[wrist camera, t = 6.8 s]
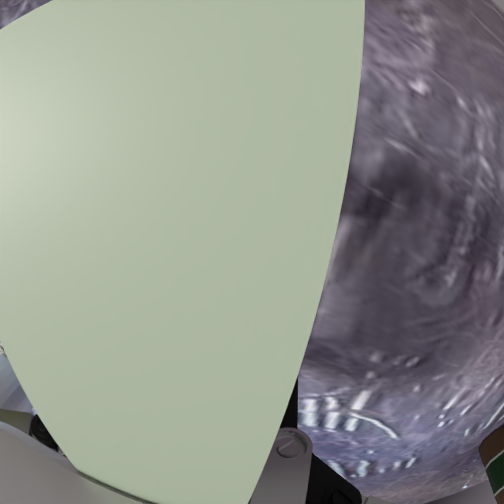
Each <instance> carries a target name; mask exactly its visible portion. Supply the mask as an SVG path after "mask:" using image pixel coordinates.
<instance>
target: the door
mask: <svg viewBox="0 0 504 504" xmlns="http://www.w3.org/2000/svg"><path fill="white" fill-rule="evenodd" d="M364 9H365V0H53V1H51V2H49V3H46V4H44V5H42V6H40V7H38V8H37V9H35V10H33V11H31V12H29V13H27V14H25V15H24V16H22V17H20V18H18V19H17V20H15V21H13V22H12V23H10V24H8V25H7V26H5V27H4V28H2V29H1V30H0V341H1V343H2V346H3V348H4V350H5V353H6V355H7V357H8V360H9V362H10V364H11V366H12V368H13V370H14V372H15V374H16V376H17V378H18V380H19V382H20V384H21V386H22V388H23V390H24V392H25V394H26V395H27V397H28V399H29V401H30V402H31V404H32V406H33V408H34V409H35V411H36V413H37V414H38V416H39V417H40V419H41V421H42V422H43V424H44V425H45V427H46V428H47V430H48V431H49V433H50V434H51V436H52V437H53V439H54V440H55V441H56V443H57V444H58V446H59V447H60V448H61V450H62V451H63V452H64V454H65V455H66V456H67V458H68V459H69V460H70V461H71V463H72V464H73V465H74V466H75V468H76V469H77V470H78V471H79V472H81V473H83V474H85V475H87V476H89V477H91V478H93V479H95V480H97V481H99V482H101V483H103V484H105V485H108V486H110V487H112V488H114V489H117V490H119V491H122V492H124V493H127V494H129V495H132V496H134V497H137V498H140V499H142V500H145V501H148V502H151V503H154V504H248V502H249V500H250V498H251V496H252V493H253V491H254V489H255V487H256V484H257V482H258V480H259V477H260V475H261V473H262V470H263V468H264V466H265V463H266V461H267V458H268V456H269V453H270V451H271V448H272V446H273V443H274V441H275V438H276V435H277V433H278V430H279V427H280V425H281V422H282V419H283V416H284V414H285V411H286V408H287V405H288V402H289V400H290V397H291V394H292V391H293V388H294V385H295V382H296V379H297V376H298V373H299V370H300V366H301V363H302V360H303V357H304V354H305V350H306V347H307V344H308V340H309V337H310V334H311V330H312V327H313V323H314V320H315V316H316V312H317V309H318V305H319V301H320V298H321V294H322V290H323V286H324V282H325V278H326V274H327V270H328V266H329V262H330V257H331V253H332V249H333V244H334V240H335V235H336V231H337V226H338V221H339V216H340V211H341V206H342V201H343V196H344V190H345V185H346V179H347V174H348V168H349V162H350V155H351V149H352V142H353V135H354V128H355V121H356V113H357V105H358V96H359V86H360V76H361V64H362V51H363V35H364Z"/></svg>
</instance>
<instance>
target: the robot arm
mask: <svg viewBox="0 0 504 504" xmlns="http://www.w3.org/2000/svg"><path fill="white" fill-rule="evenodd" d="M32 408H33V406H32V404H31V402H30V401H29V399H28V397H27V395H26V394H25V392H24V390H23V388H22V386H21V384H20V382H19V380H18V378H17V376H16V374H15V372H14V370H13V368H12V366H11V364H10V362H9V360H8V357H7V355H6V353H5V350H4V348H3V346H2V343H1V341H0V504H154V503H151V502H148V501H145V500H142V499H140V498H137V497H134V496H132V495H129V494H127V493H124V492H122V491H119V490H117V489H114V488H112V487H110V486H108V485H105V484H103V483H101V482H99V481H97V480H95V479H93V478H91V477H89V476H87V475H85V474H83V473H81V472H79V471H78V470H77V469H76V468H75V466H74V465H73V464H72V463H71V461H70V460H69V459H68V458H67V456H66V455H65V454H64V452H63V451H62V450H61V448H60V447H59V446H58V444H57V443H56V441H55V440H54V439H53V437H52V436H51V434H50V433H49V431H48V430H47V428H46V427H45V425H44V424H43V422H42V421H41V419H40V417H39V416H38V414H36V415H34V413H33V411H32V410H31V409H32ZM297 416H298V376H297V379H296V382H295V385H294V388H293V391H292V394H291V397H290V400H289V402H288V405H287V408H286V411H285V414H284V416H283V419H282V422H281V425H280V427H279V430H278V433H277V435H276V438H275V441H274V443H273V446H272V448H271V451H270V453H269V456H268V458H267V461H266V463H265V466H264V468H263V470H262V473H261V475H260V477H259V480H258V482H257V484H256V487H255V489H254V491H253V493H252V496H251V498H250V500H249V502H248V504H395V503H392V502H388V501H385V500H382V499H379V498H376V497H373V496H369V497H366V496H363V495H361V494H360V492H359V490H358V489H357V488H356V487H354V486H353V485H352V484H350V483H349V482H348V481H347V480H345V479H344V478H343V477H341V476H340V475H339V474H337V473H336V472H335V471H334V470H332V469H331V468H330V467H329V466H327V465H326V464H325V463H324V462H323V461H321V460H320V459H319V458H318V457H317V456H315V455H314V454H313V453H312V442H311V440H310V438H309V436H308V435H307V434H306V433H304V432H303V431H301V430H299V429H297Z"/></svg>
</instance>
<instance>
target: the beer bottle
mask: <svg viewBox="0 0 504 504" xmlns="http://www.w3.org/2000/svg"><path fill="white" fill-rule="evenodd" d="M479 453H480V456H481V459H482V462H483V465H484V467H485V470H486V473H487V476H488V478H489V481H490V484H491V487H492V490H493V493H494V497H495V499H496V501H497V504H504V425H503V426H501V427H500V428H498V429H496V430H495V431H494V432H493V433H491V434H490V435H489V436H488V437H487V438H486V439H485V440H483V442H482V444H481V445H480V447H479Z"/></svg>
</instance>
